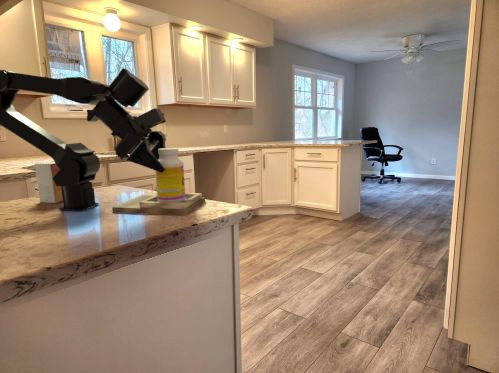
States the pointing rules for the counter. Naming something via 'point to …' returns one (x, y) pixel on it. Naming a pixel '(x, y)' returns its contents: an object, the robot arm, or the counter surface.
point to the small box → (48, 182)
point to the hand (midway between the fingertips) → (169, 168)
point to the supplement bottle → (170, 177)
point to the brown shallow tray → (160, 205)
